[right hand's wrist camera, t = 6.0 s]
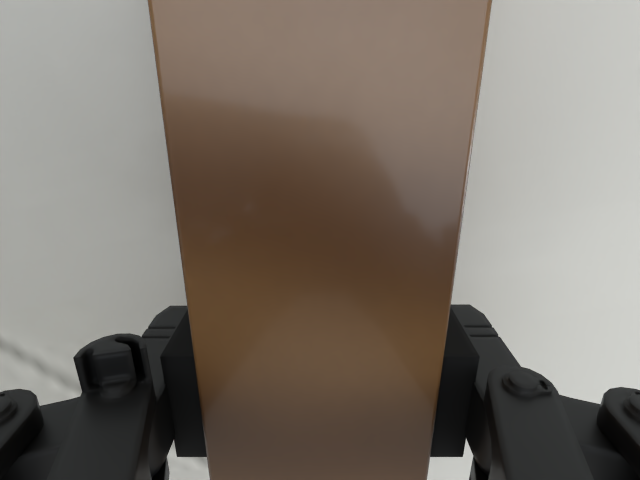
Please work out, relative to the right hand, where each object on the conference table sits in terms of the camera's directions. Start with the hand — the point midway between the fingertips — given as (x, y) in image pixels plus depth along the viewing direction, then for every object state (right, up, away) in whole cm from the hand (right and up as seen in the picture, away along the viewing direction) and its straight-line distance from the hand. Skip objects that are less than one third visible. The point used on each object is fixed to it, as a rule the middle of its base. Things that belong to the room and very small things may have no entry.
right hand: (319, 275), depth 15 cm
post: (0, +20, -7) cm, 22 cm away
